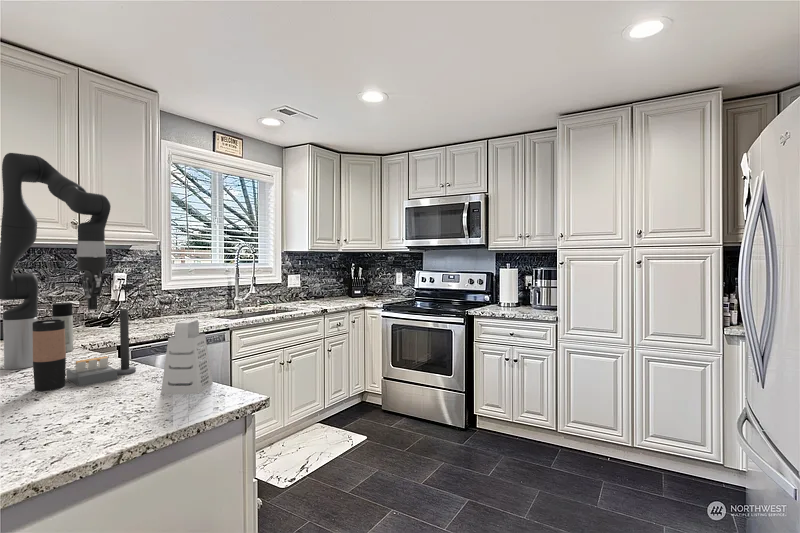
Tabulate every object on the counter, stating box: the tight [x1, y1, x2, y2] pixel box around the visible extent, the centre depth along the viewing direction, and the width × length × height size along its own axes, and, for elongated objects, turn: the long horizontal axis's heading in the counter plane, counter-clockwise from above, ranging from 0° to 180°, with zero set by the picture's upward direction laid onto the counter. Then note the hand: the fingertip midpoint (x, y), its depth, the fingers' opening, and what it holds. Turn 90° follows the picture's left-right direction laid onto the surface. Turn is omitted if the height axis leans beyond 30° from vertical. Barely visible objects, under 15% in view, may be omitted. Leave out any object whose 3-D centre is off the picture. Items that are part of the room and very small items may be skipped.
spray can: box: [51, 302, 74, 353], centre depth 177 cm, size 7×7×20 cm
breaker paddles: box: [75, 356, 109, 372], centre depth 137 cm, size 1×8×3 cm, turn 141°
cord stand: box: [115, 309, 136, 376], centre depth 145 cm, size 6×6×21 cm
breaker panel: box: [66, 363, 118, 387], centre depth 138 cm, size 14×10×3 cm
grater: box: [160, 319, 214, 395], centre depth 128 cm, size 10×10×20 cm
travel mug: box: [32, 319, 67, 392], centre depth 128 cm, size 8×8×20 cm
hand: (92, 309), depth 138 cm, fingers closed
